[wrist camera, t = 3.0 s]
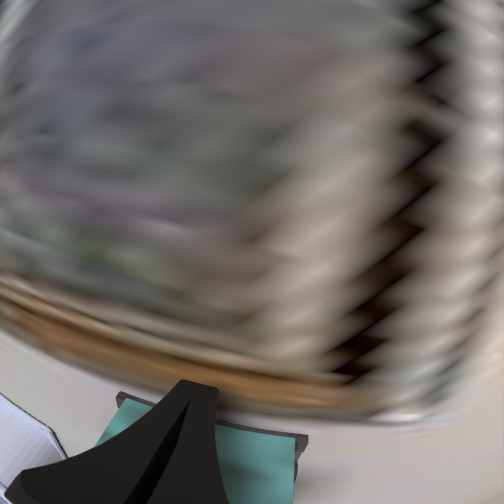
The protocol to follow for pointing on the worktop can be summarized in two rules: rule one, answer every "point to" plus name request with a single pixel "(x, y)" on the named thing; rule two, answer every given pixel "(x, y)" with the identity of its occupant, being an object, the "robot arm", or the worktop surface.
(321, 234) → the worktop surface
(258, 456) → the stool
